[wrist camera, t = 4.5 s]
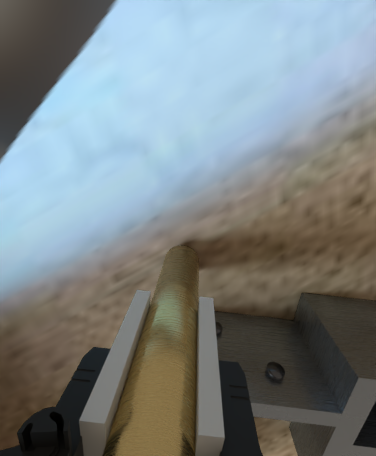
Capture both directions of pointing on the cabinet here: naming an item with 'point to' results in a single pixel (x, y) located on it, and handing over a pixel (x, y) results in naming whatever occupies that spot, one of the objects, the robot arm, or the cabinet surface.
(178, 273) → the hinge pin
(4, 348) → the cabinet surface
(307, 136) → the cabinet surface
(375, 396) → the hinge leaves
